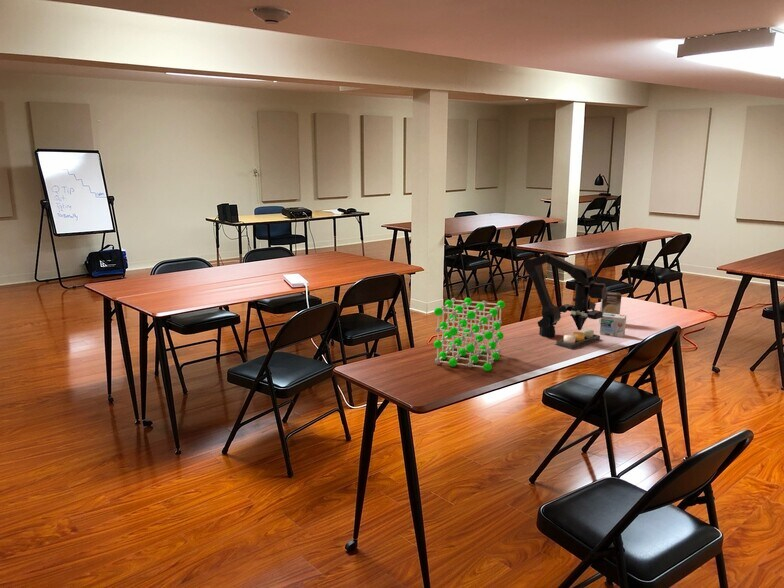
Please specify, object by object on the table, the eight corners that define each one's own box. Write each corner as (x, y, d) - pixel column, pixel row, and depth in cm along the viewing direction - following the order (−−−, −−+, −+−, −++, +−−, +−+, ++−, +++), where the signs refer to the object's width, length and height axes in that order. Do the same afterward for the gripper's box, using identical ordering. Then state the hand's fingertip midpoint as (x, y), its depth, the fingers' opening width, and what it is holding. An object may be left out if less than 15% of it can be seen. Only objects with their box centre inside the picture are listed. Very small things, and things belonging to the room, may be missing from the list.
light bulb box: (598, 337, 284) (600, 315, 282) (601, 333, 290) (603, 312, 288) (622, 340, 279) (624, 318, 277) (624, 336, 285) (626, 314, 283)
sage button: (579, 338, 276) (580, 330, 276) (585, 336, 280) (586, 328, 279) (589, 340, 273) (589, 332, 272) (595, 338, 276) (595, 330, 275)
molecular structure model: (503, 354, 260) (506, 299, 255) (490, 373, 238) (492, 313, 232) (449, 347, 269) (451, 295, 264) (432, 365, 247) (433, 308, 241)
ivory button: (561, 343, 268) (561, 336, 267) (567, 341, 271) (568, 334, 270) (570, 346, 264) (571, 338, 263) (577, 344, 267) (577, 336, 266)
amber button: (570, 340, 272) (570, 333, 271) (576, 338, 275) (577, 331, 274) (579, 343, 268) (580, 335, 268) (586, 341, 271) (587, 333, 271)
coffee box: (599, 324, 306) (602, 293, 302) (598, 321, 312) (601, 291, 308) (619, 325, 303) (621, 294, 300) (617, 322, 310) (620, 292, 306)
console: (553, 347, 269) (553, 340, 268) (583, 338, 283) (583, 331, 282) (572, 353, 261) (573, 345, 261) (602, 343, 275) (602, 336, 275)
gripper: (610, 297, 265) (608, 331, 268) (574, 290, 279) (572, 322, 283) (596, 301, 258) (593, 335, 262) (559, 293, 272) (557, 326, 276)
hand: (579, 330), depth 271 cm, fingers closed
